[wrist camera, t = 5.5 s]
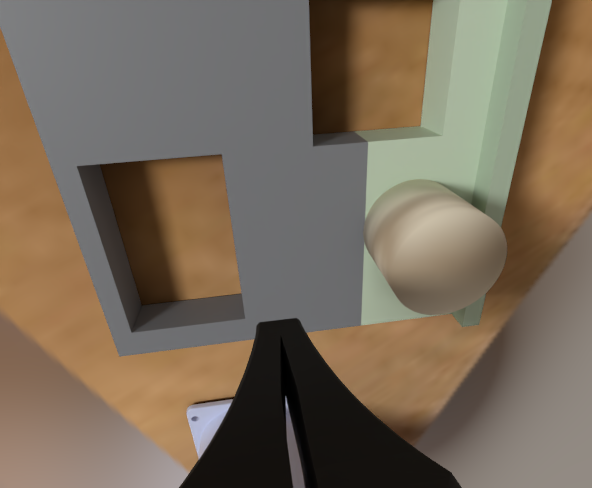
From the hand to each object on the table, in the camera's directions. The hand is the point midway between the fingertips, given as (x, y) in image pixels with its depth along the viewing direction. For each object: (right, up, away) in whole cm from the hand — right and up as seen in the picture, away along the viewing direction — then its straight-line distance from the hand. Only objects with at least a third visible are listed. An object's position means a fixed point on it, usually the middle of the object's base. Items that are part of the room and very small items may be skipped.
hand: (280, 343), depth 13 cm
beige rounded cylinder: (+6, +4, +7) cm, 10 cm away
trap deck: (0, +7, +7) cm, 10 cm away
